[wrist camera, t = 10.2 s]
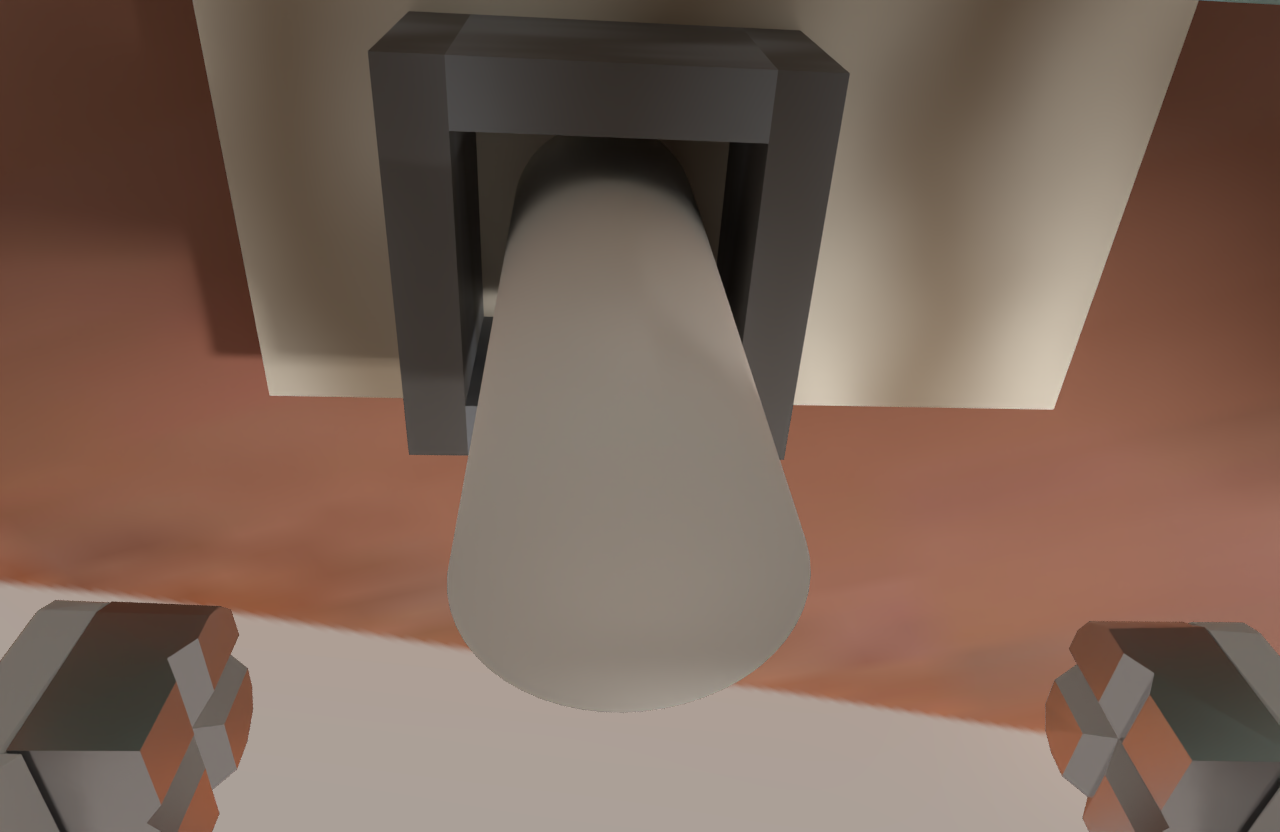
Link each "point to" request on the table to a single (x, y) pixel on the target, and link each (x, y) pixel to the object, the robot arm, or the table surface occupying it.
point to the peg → (620, 451)
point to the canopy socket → (692, 179)
